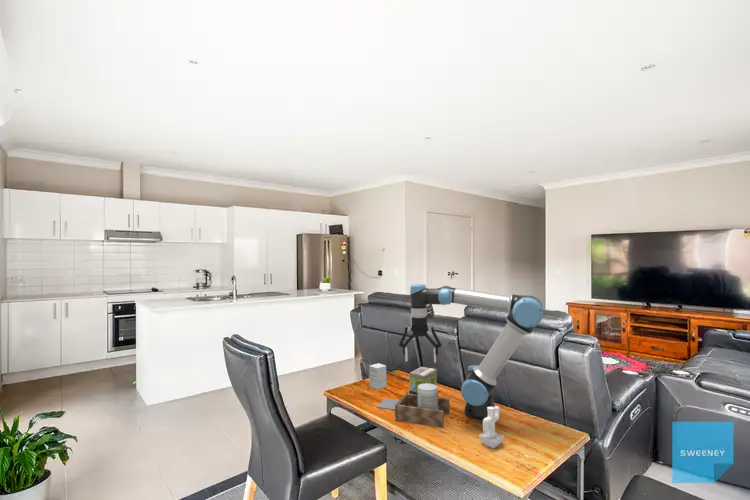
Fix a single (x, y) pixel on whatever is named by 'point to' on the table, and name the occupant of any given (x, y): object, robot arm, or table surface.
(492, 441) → the figurine
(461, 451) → the table surface
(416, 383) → the tea box
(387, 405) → the grey mat
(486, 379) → the robot arm
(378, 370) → the supplement box
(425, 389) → the supplement tub
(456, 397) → the table surface
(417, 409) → the walnut box
